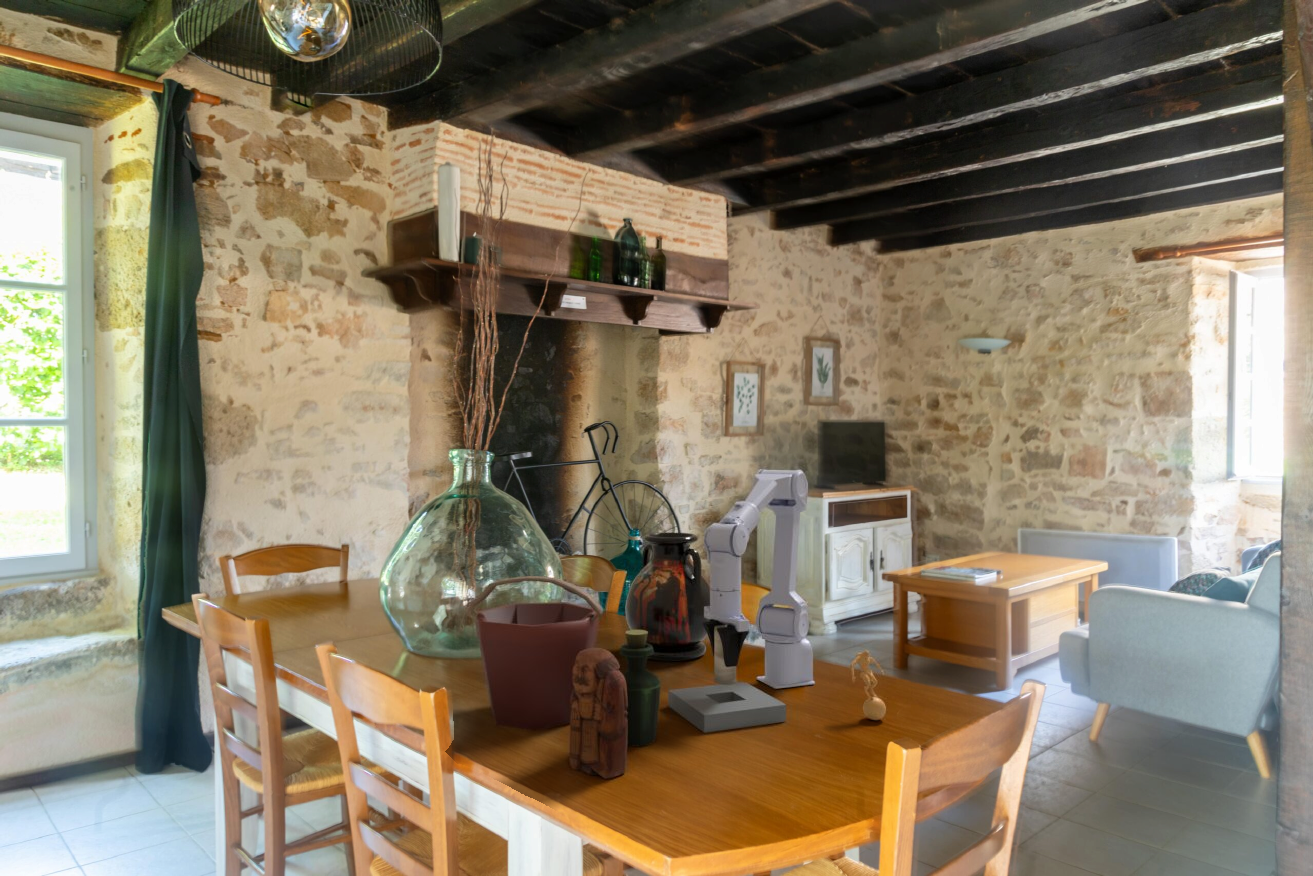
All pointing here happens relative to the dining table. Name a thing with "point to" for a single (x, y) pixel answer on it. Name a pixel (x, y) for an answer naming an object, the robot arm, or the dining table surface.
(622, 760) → the wooden figurine
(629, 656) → the potion bottle
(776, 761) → the dining table surface
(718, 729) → the socket block
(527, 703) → the bucket
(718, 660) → the birch dowel
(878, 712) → the figurine
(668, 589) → the amphora vase
